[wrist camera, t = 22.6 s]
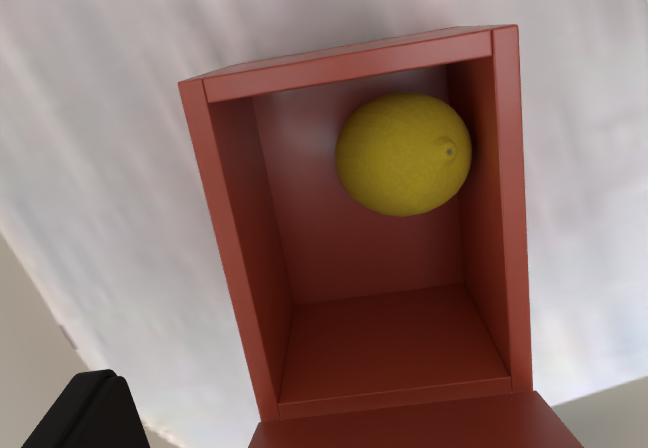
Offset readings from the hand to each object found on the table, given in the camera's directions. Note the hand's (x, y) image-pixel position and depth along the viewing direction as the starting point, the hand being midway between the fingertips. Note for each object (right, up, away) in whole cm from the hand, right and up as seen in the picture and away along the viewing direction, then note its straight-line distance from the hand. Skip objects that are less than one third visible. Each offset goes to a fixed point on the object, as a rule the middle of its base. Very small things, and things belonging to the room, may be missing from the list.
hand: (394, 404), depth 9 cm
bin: (+1, +5, +21) cm, 21 cm away
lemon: (+1, +7, +19) cm, 20 cm away
